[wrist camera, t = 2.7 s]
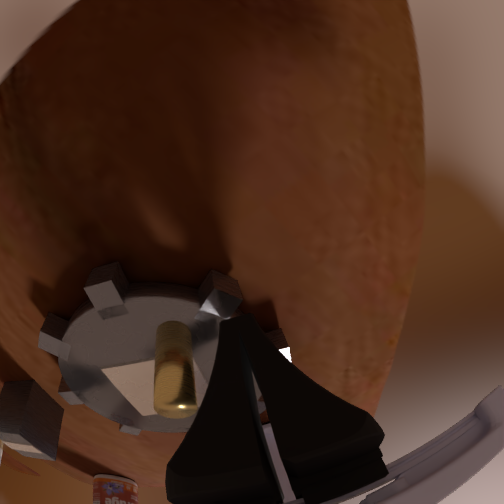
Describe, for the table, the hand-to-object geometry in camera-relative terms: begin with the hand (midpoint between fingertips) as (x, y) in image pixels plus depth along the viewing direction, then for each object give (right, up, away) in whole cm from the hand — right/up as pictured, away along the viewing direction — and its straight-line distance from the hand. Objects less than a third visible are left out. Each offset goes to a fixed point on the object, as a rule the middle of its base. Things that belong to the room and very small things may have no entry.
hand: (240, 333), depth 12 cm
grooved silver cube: (-17, -8, +4) cm, 19 cm away
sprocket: (-5, -3, +4) cm, 7 cm away
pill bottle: (-18, -27, +14) cm, 35 cm away
